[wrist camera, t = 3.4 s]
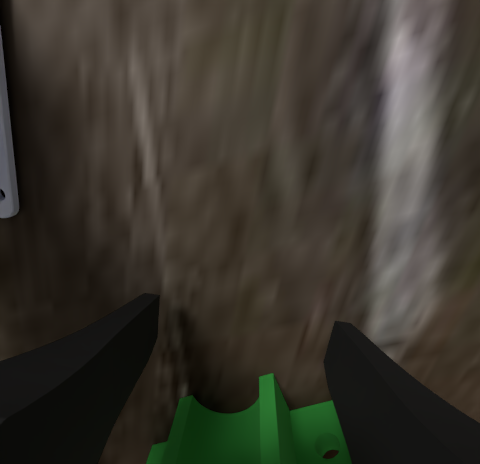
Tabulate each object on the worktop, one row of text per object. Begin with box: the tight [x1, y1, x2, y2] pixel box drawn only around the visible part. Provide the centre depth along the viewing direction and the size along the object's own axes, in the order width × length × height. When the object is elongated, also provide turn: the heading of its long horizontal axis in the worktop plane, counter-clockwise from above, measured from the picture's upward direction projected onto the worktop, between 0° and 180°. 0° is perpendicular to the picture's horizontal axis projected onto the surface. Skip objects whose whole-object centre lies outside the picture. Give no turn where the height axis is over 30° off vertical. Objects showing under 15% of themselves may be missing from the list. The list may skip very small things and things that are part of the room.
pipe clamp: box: [146, 373, 352, 464], centre depth 13 cm, size 11×4×5 cm, turn 111°
